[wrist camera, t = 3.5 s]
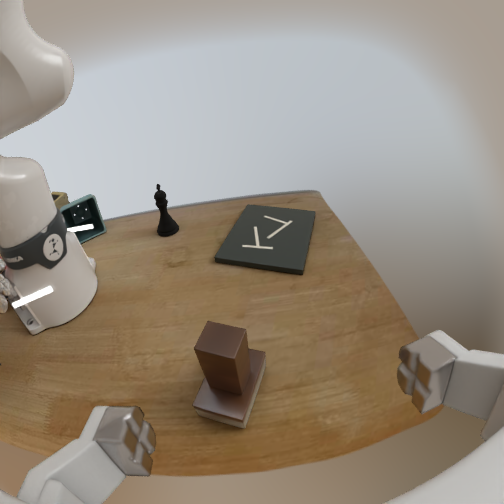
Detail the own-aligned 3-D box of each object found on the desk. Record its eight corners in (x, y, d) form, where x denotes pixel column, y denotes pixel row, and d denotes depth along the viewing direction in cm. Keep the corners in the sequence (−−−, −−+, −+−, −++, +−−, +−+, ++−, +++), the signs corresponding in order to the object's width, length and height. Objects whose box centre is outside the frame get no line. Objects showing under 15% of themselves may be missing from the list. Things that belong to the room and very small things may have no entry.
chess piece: (180, 223, 55) (171, 177, 49) (177, 235, 52) (166, 187, 46) (160, 225, 55) (149, 180, 49) (155, 237, 52) (143, 190, 46)
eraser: (198, 415, 25) (170, 371, 19) (224, 356, 31) (210, 297, 25) (245, 428, 24) (234, 390, 18) (265, 365, 30) (264, 307, 24)
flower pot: (91, 187, 57) (94, 194, 50) (102, 220, 61) (107, 231, 55) (58, 202, 53) (57, 211, 46) (71, 234, 57) (72, 247, 51)
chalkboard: (215, 262, 45) (214, 256, 44) (247, 208, 59) (247, 204, 58) (302, 275, 41) (303, 269, 41) (315, 215, 55) (315, 210, 54)
